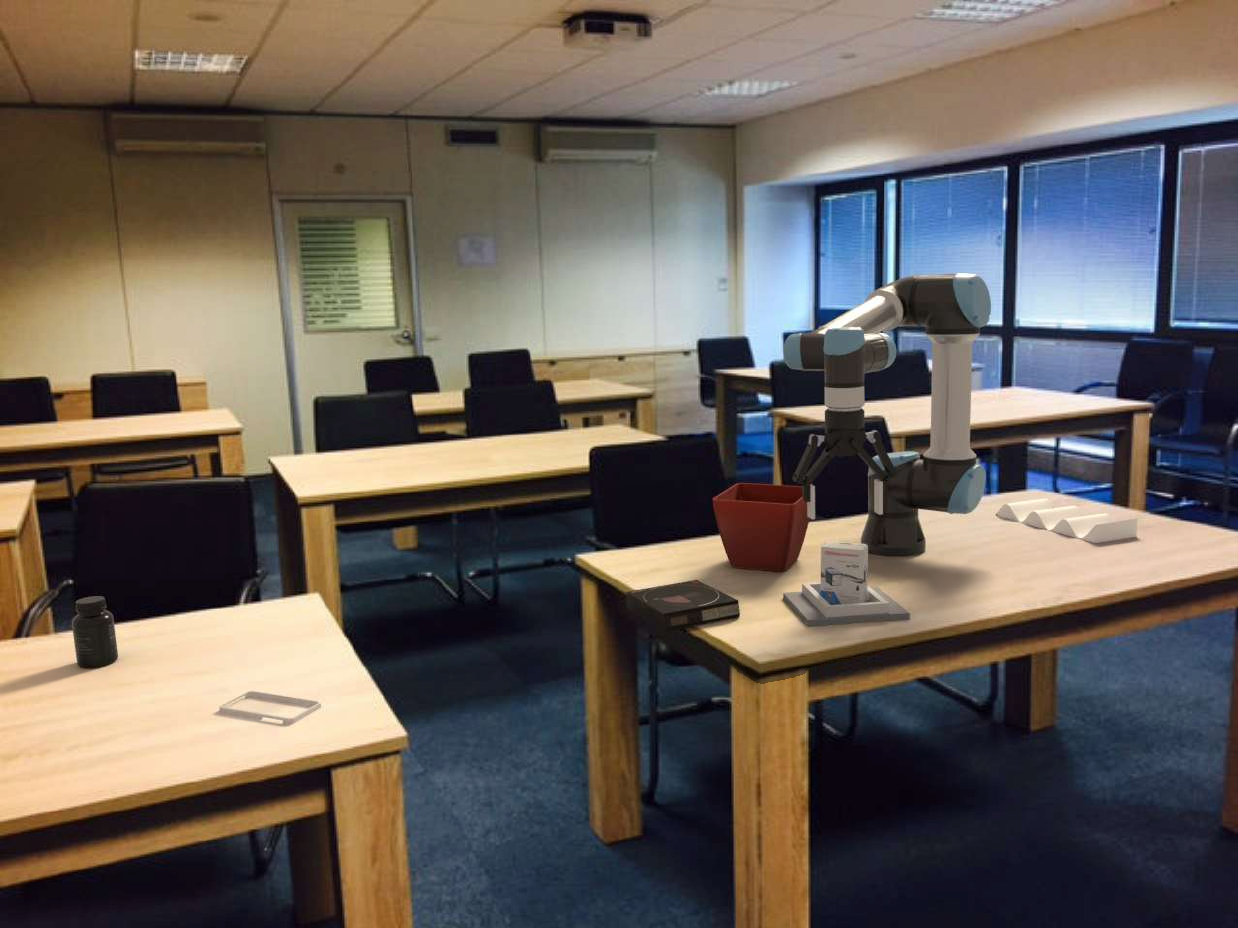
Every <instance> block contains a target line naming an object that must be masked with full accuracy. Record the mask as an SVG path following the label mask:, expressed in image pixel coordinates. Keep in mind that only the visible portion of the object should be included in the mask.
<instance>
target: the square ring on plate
mask: <svg viewBox="0 0 1238 928" xmlns="http://www.w3.org/2000/svg"><path fill="white" fill-rule="evenodd" d="M820 593H821V581H817V582H814V581H813V582H803V583H801V591H793V592H792V591H790V592H789V591H788V592H787V591H786V592H783V593H782V598H783V600H784V601H785V602H786V603H787V604H788V605H789V607H790V608H791V609H792V610H793V612H794V613H796V614H797V615H798V617H799V618H800V619H801V620H802V621H803V622H804V623H805V625H806V626H808V627H817V626H830V625H845V624H857V623H858V624H860V623H872V622H874V623H875V622H885V621H901V620H902V621H903V620H910V619H911V613H910V612H909V611H908V610H907V609H906V608H905V607H903V606H902V605H900V603H898V602H897V601H895V600H894V598H892V597H891V596H889V595H888V594H887V593H886V592H884V591H883V590H882V589H880V587H878V586H877V585H876V586H869V585H868V584H867V602H866V603H854V604H839V605H833V604H829V603H828V602H827V601H826V600H825V599H824V598H823V597H822V596H821V595H820Z"/></svg>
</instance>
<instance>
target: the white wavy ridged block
mask: <svg viewBox="0 0 1238 928" xmlns="http://www.w3.org/2000/svg"><path fill="white" fill-rule="evenodd" d="M995 516H997V517H1001V518H1005V519H1007V520H1008V519H1009V520H1011V521H1016V522H1019V523H1022V524H1026V525H1029V526H1033V527H1036V528H1040V529H1044V530H1047V531H1050V532H1054V533H1057V534H1058V533H1059V534H1061V535H1065V536H1068V537H1071V538H1075V539H1079V540H1083V541H1086V542H1089V543H1093V544H1097V543H1103V542H1110V541H1117V540H1125V539H1130V538H1136V537H1137V533H1138V532H1137V531H1138V529H1137V528H1138V518H1133V519H1126V520H1120V521H1119V520H1117V521H1113V520H1112V518H1111V517H1110V515H1109V514H1108V513H1106V512H1105V513H1097V514H1092V515H1084V516H1083V514H1082V512H1081V511H1080V509H1079V508H1078V507H1077V506H1076V505H1070V506H1063V507H1053V505H1052V504H1051V502H1050V501H1049V499H1048V498H1040V499H1033V500H1024V501H1018V502H1012V503H1011V502H1009V503H1004V504H1003V505H1002V506H1001V507H1000V508H999V510H998V511H997V512H996V514H995Z"/></svg>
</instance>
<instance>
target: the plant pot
mask: <svg viewBox="0 0 1238 928" xmlns="http://www.w3.org/2000/svg"><path fill="white" fill-rule="evenodd" d="M712 506H713V511H714V516H715V520H716V524H717V528H718V533H719V535H720V539H721V542H722V545H723V548H724V552H725V554H726V556H727V559H728V561H729V564H730V566H731V568H735V569H747V570H759V571H768V572H778V573H779V572H780V573H782V572H785V571H786V570H788V569H789V568H790V567H791V566H792V565H793V564H794V563H795V562H796V561H797V559H798V558H799V557H800V554H801V552H802V549H803V548H802V547H803V545H804V542H805V538H806V534H807V530H808V527H809V522H810V520H811V519H810V518H809V517H808V516H807V502H805V501H803V498H802V485H801V486H799V485H782V484H767V483H766V484H765V483H750V482H749V483H748V482H747V483H746V482H740V483H735V484H734V485H732V486H731V487H729V488H728V489H727V488H726V490H724V491H723V492H721V493H719V494H718V495H716V496H714V497H713V498H712Z"/></svg>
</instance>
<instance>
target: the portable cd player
mask: <svg viewBox="0 0 1238 928" xmlns="http://www.w3.org/2000/svg"><path fill="white" fill-rule="evenodd" d="M625 593H626V595H625V596H626V609H627V610H628V611H630V612H632V613H633V614H635V615H637V616H638V617H640V618H642V619H643V620H644V621H646V622H648V623H649V624H651V625H653V626H654V627H655V628H658V629H659V630H661V631H663V632H665V633H666V632H672V631H677V630H681V629H687V628H692V627H698V626H703V625H708V624H713V623H718V622H724V621H729V620H734V619H739V618H740V615H741V612H740V611H741V610H740V606H739V604H740V603H739V599H737V598H735V597H733V596H730V595H729V594H727V593H725V592H723V591H720V589H719V590H718V589H716V588H715V587H713V586H710V585H709V584H706V583H705V582H702V581H700V580H698V579H693V580H688V581H683V582H675V583H670V584H663V585H658V586H653V587H647V588H640V589H636V590H635V589H634V590H628V591H626V592H625Z"/></svg>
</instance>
